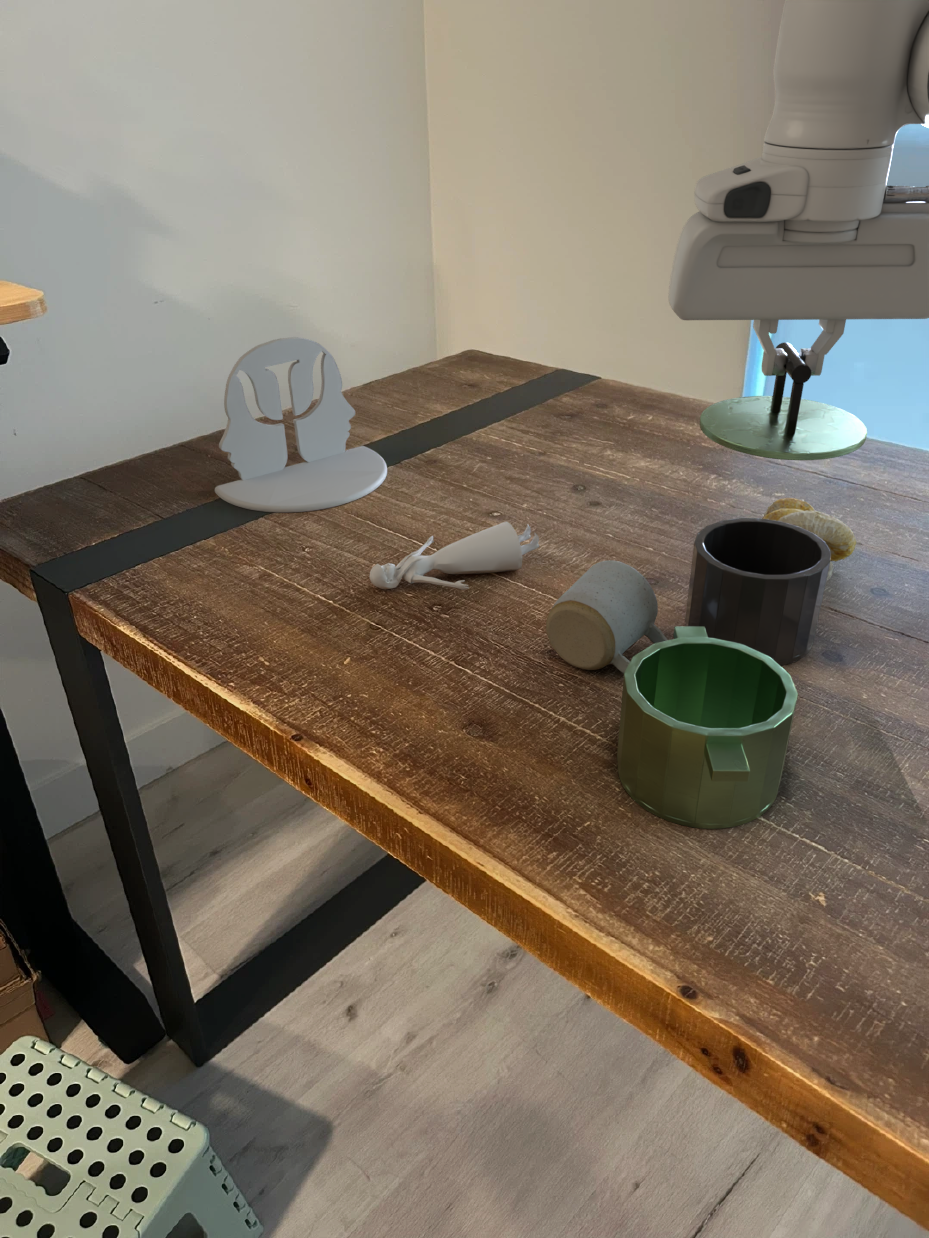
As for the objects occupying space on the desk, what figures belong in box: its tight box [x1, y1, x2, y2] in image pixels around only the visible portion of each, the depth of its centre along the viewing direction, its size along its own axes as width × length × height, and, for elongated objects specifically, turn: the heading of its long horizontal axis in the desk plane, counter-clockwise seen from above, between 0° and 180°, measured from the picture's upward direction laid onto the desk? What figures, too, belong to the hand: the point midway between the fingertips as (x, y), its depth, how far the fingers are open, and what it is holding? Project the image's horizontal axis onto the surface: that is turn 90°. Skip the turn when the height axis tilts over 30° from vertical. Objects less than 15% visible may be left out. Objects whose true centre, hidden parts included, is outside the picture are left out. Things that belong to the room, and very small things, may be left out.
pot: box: [616, 625, 799, 830], centre depth 72 cm, size 12×17×8 cm
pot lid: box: [699, 342, 868, 461], centre depth 79 cm, size 13×13×7 cm
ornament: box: [214, 336, 388, 513], centre depth 117 cm, size 22×13×17 cm, turn 126°
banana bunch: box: [761, 497, 857, 582], centre depth 102 cm, size 10×6×15 cm
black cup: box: [684, 517, 831, 667], centre depth 89 cm, size 12×12×9 cm
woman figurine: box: [369, 521, 540, 591], centre depth 101 cm, size 12×4×18 cm
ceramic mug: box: [545, 560, 668, 674], centre depth 86 cm, size 11×8×8 cm
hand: (790, 373), depth 78 cm, fingers closed on pot lid
